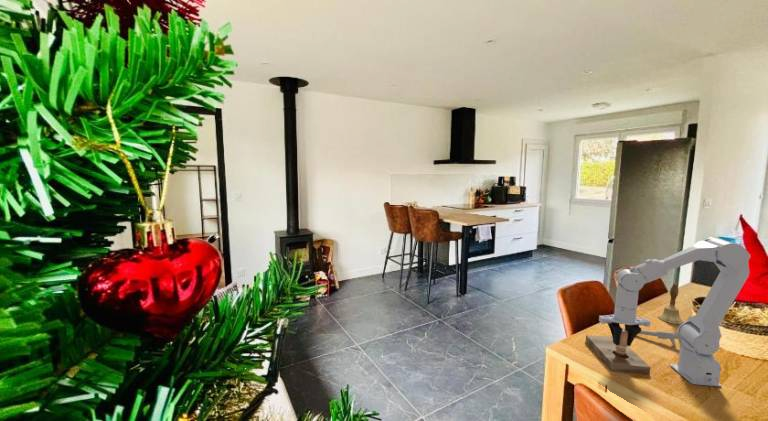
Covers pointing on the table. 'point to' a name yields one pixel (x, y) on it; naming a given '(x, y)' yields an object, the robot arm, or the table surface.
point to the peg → (622, 342)
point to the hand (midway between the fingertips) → (621, 344)
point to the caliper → (663, 335)
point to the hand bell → (672, 309)
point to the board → (617, 356)
